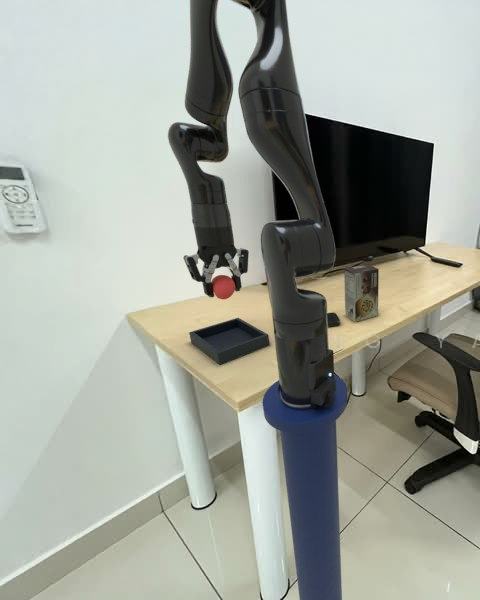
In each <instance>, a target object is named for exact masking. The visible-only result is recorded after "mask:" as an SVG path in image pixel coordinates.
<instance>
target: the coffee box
mask: <svg viewBox="0 0 480 600" xmlns="http://www.w3.org/2000/svg"><path fill="white" fill-rule="evenodd" d="M343 271H344V274H343V277H344V278H343V279H344V315H345V317H347V318H348V319H350V320H351V321H353V322H355V323H357V322H360V321H364V320H368V319H371V318H374V317H377V316H379V275H380V274H379V268H377V267H375V266H373V265H371V264H361V265H355V266H350V267H349V266H348V267H344V268H343Z"/></svg>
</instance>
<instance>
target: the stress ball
mask: <svg viewBox="0 0 480 600" xmlns="http://www.w3.org/2000/svg"><path fill="white" fill-rule="evenodd" d="M211 282H212V285H213V291H214V296H215V297H216V298H217V299H220V300H227V299H229V298H231V297H232V296H233V295H234V293H235V292H236V291H235V283H234V281H233V280H232V278H231V276H229V275H227V274H218V275H216V276H214V277H212V279H211Z"/></svg>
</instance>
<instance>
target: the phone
mask: <svg viewBox="0 0 480 600" xmlns="http://www.w3.org/2000/svg"><path fill="white" fill-rule="evenodd" d="M327 320H328V328H329V327H331V328H332V327H337V326H340V325H341V319H340V318H339V316H338V314H337V312H327Z"/></svg>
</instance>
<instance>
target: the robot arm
mask: <svg viewBox="0 0 480 600" xmlns="http://www.w3.org/2000/svg"><path fill="white" fill-rule="evenodd" d="M229 1H230V2H233V3H234V4H236V5H239V6H241V7H243V8H245V9H247V10H248V11H249V12H250V14H251V15H252V17H253V20H254V24H255V29H256V42H255V46H254V48H253V51H252V53H251V54H250V57H249V59H248V60H247V62H246V64H245V66H244V68H243V70H242V72H241V75H240V78H239V81H238V89H237V91H238V99H239V105H240V109H241V113H242V117H243V118H242V119H243V122H244V127H245V131H246V134H247V138H248V139H249V141H250V143H251V145H252V147H253V148H254V150H255V151H256V152H257V154H258V155H259V156H260V158H261V159H262V160H263V161H264V162H265V164H266V165H267V166H268V168H269V169H271V171H272V172H273V173H274V174H275V176H276V177H277V178H278V179H279V180H280V181H281V183H282V184H283V185H284V187H285V188H286V191H288V193H289V195H290V197H291V199H292V201H293V204H294V206H295V209H296V212H297V215H298V219H284V220H283V219H281V220H270V221H268V222H265V224H264V225H263V226H262V228H261V232H260V250H261V256H262V263H263V268H264V273H265V279H266V285H267V286H266V287H267V294H268V299H269V305H270V308H271V317H272V325H273V326H272V327H273V335H274V344H275V346H274V347H275V355H276V365H277V371H278V380H279V382H280V384H279V387H278V394H279V392H280V391H281V392H280V396H281V401H282V403H283V404H284V405H285V406H286V407H288V408H291V409H294V410H307V409H313V410H317V409H318V408H319V407H320V406H321V405H322V404H323V403H324V402H325V401H326V400H327V399H329V401H328V402H326V403H325V404H324V407H325V408H328V407H330V406H331V405H332V404H333V403H334V396H333V393H334V392H335V391H336V380H334V375H335V357H334V356H335V355H334V350H333V349H330V348H329V327H328V320H327V313H328V301H327V298H326V297H325V296H324V295H323V294H322V293H320V292H317V291H314V290H310V289H303V288H298V287H297V284H296V279H297V278H298V279H299V278H304V277H310V276H316V275H321V274H322V275H323V274H325V273H329V272H331V270H332V269H333V268H334V266H335V263H336V256H337V254H336V243H335V238H334V233H333V229H332V226H331V222H330V218H329V216H328V211H327V208H326V205H325V201H324V198H323V194H322V191H321V187H320V183H319V179H318V175H317V170H316V167H315V162H314V157H313V152H312V148H311V141H310V137H309V136H310V135H309V129H308V124H307V117H306V113H305V108H304V103H303V98H302V95H301V91H300V90H301V89H300V86H299V81H298V77H297V70H296V64H295V60H294V53H293V47H292V42H291V35H290V28H289V27H290V26H289V19H288V8H287V0H229ZM218 6H219V0H189V31H190V33H189V35H190V38H189V39H190V47H189V48H190V50H189V51H190V52H189V66H188V73H187V79H186V80H187V81H186V86H185V87H186V88H185V93H184V108H185V110H186V112H187V114H188V115H189V116H190V117H191V118H192V119H194V120H195V121H197V122H198V123H200V124H195V123H189V122H182V121H176V122H173V123H172V124H170V126H169V127H168V130H167V140H168V144H169V147H170V149H171V151H172V154H173V156H174V158H175V159H176V162H177V163H178V165H179V167H180V169H181V172H182V174H183V176H184V179H185V182H186V185H187V190H188V195H189V200H190V210H191V211H190V212H191V222H192V225H193V230H194V235H195V240H196V245H197V251H196V253H194V254H191V255H188V254H186V255H184V256H183V261H184V263H185V266H186V268H187V271H188V272H189V274H190V277H191V278H192V280H194V281H196V282H197V283H202V288H203V293H204V294H205V295H206V296H208V297H209V298H215V293H214V291H213V285H212V282H211V281H212V279H213V275H214V274H215V272H216V270H217V269H220V268H227V270H228V271H229V272H230V274H231V276H230V278H231V279H232V280H233V281H234V283H235V291H234V292H240V291H241V289H242V286H243V285H242V279H241V278H242V277H241V276H242V275H243V274H247V273H248V271H249V256H250V255H249V253H250V252H249V249H246V248H243V247H240V248H236V246H235V239H234V232H233V226H232V218H231V212H230V209H229V206H228V199H227V198H228V197H227V192H226V187H225V182H224V179H223V178H222V177H221V176H219V175H216V174H212V173H209V172H205V171H204V170H203V169H202V168H201V167H200V165H199V163H213V164H220V163H222V162H224V161H225V160H226V159H227V157H228V155H229V153H230V152H229V150H230V147H229V138H228V115H229V110H230V106H231V102H232V97H233V93H234V76H233V71H232V68H231V64H230V61H229V59H228V58H229V57H228V55H227V53H226V49H225V47H224V44H223V40H222V38H221V35H220V30H219V24H218ZM202 124H203V125H202ZM198 162H199V163H198ZM236 256H237V257H238V262H237V263H238V264H237V263H236V262H235V261H234V259H235V257H236ZM199 260H201V261H202V262H203V264H202V269H201V270H202V272H201V273H200V270H199V268H198V264H199ZM237 265H238V266H237Z"/></svg>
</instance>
